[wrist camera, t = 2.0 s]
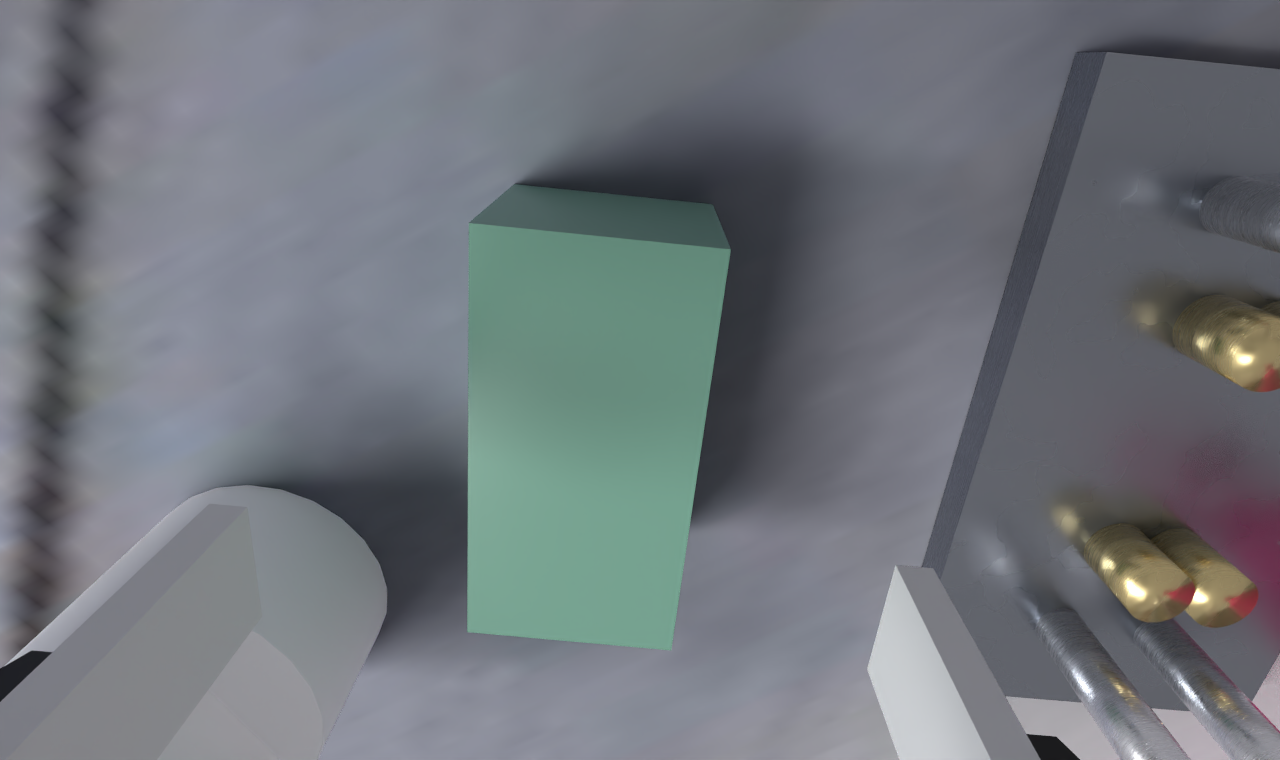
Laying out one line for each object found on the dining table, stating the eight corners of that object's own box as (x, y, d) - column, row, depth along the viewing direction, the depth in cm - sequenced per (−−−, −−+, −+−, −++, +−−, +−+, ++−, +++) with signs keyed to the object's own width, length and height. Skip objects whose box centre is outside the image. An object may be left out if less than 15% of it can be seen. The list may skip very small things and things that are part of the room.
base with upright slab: (100, 545, 28) (-270, 866, 16) (286, 445, 26) (10, 732, 15) (257, 702, 31) (34, 1062, 20) (433, 623, 29) (297, 971, 18)
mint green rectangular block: (515, 183, 22) (468, 222, 17) (712, 203, 22) (730, 249, 17) (505, 515, 27) (467, 631, 21) (667, 530, 27) (671, 650, 22)
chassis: (1076, 52, 20) (1341, 46, 12) (1532, 98, 20) (2072, 119, 13) (894, 658, 29) (983, 877, 21) (1216, 685, 29) (1420, 911, 21)
